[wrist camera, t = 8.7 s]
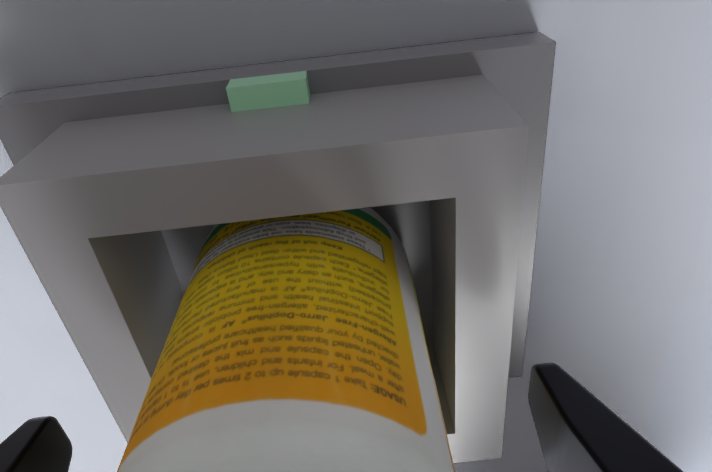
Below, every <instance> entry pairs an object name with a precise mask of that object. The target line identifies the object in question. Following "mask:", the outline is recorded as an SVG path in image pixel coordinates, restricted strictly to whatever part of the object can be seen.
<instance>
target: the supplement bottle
mask: <svg viewBox="0 0 712 472" xmlns="http://www.w3.org/2000/svg"><path fill="white" fill-rule="evenodd" d="M117 472H455V469H454V464H453V459H452V455H451V451H450V447H449V442H448V437H447V432H446V428H445V423H444V419H443V415H442V410H441V406H440V402H439V397H438V393H437V388H436V383H435V379H434V375H433V371H432V367H431V363H430V358H429V353H428V349H427V345H426V340H425V335H424V330H423V325H422V320H421V315H420V310H419V306H418V301H417V296H416V291H415V287H414V282H413V277H412V273H411V269H410V266H409V262H408V258H407V255H406V252H405V250H404V247H403V245H402V243H401V241H400V240H399V238H398V236H397V235H396V233H395V232H394V230H393V229H392V228H391V226H390V225H389V224H388V223H387V222H386V221H385V220H384V219H383V218H382V217H381V216H380V215H379V214H378V213H376V212H375V211H374V210H373V209H371V208H369V207H366V208H357V209H348V210H339V211H330V212H321V213H312V214H303V215H294V216H285V217H276V218H267V219H259V220H250V221H241V222H232V223H223V224H215V226H214V227H213V229H212V230H211V232H210V233H209V235H208V236H207V238H206V240H205V242H204V244H203V247H202V249H201V252H200V254H199V256H198V258H197V261H196V264H195V266H194V269H193V271H192V274H191V277H190V279H189V282H188V285H187V288H186V290H185V293H184V295H183V298H182V301H181V303H180V306H179V309H178V311H177V314H176V316H175V319H174V322H173V324H172V327H171V330H170V333H169V335H168V338H167V340H166V343H165V346H164V348H163V351H162V353H161V356H160V358H159V361H158V363H157V366H156V368H155V371H154V374H153V376H152V379H151V382H150V384H149V387H148V390H147V393H146V395H145V398H144V401H143V403H142V406H141V409H140V411H139V414H138V417H137V419H136V422H135V425H134V428H133V431H132V433H131V436H130V439H129V442H128V444H127V447H126V450H125V452H124V455H123V458H122V460H121V463H120V465H119V468H118V471H117Z"/></svg>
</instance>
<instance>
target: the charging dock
mask: <svg viewBox="0 0 712 472" xmlns="http://www.w3.org/2000/svg"><path fill="white" fill-rule="evenodd" d="M555 46H556V42H555V41H553V40H552V39H550V38H549V37H547V36H545V35H544V34H542V33H541V32H533V33H525V34H516V35H507V36H499V37H490V38H481V39H473V40H464V41H455V42H447V43H438V44H429V45H421V46H412V47H403V48H395V49H386V50H377V51H369V52H360V53H351V54H343V55H334V56H325V57H317V58H308V59H299V60H291V61H282V62H274V63H265V64H256V65H248V66H239V67H230V68H222V69H213V70H204V71H196V72H187V73H178V74H170V75H161V76H152V77H144V78H135V79H126V80H118V81H109V82H100V83H92V84H83V85H74V86H66V87H57V88H48V89H40V90H31V91H22V92H14V93H8V94H7V95H5V96H3V97H2V98H0V139H1V141H2V143H3V145H4V147H5V149H6V151H7V153H8V155H9V157H10V159H11V161H12V163H13V165H14V166H13V167H12V168H11V169H10V170H9V171H7V172H6V173H5V174H4V175H3V176H2V177H0V206H1V208H2V210H3V212H4V214H5V216H6V217H7V219H8V221H9V223H10V225H11V227H12V229H13V231H14V232H15V234H16V236H17V238H18V240H19V242H20V244H21V245H22V247H23V249H24V251H25V253H26V255H27V257H28V258H29V260H30V262H31V264H32V266H33V268H34V270H35V272H36V273H37V275H38V277H39V279H40V281H41V283H42V285H43V286H44V288H45V290H46V292H47V294H48V296H49V298H50V299H51V301H52V303H53V305H54V307H55V309H56V311H57V312H58V314H59V316H60V318H61V320H62V322H63V324H64V326H65V327H66V329H67V331H68V333H69V335H70V337H71V339H72V340H73V342H74V344H75V346H76V348H77V350H78V352H79V353H80V355H81V357H82V359H83V361H84V363H85V365H86V367H87V368H88V370H89V372H90V374H91V376H92V378H93V380H94V381H95V383H96V385H97V387H98V389H99V391H100V393H101V394H102V396H103V398H104V400H105V402H106V404H107V406H108V408H109V409H110V411H111V413H112V415H113V417H114V419H115V421H116V422H117V424H118V426H119V428H120V430H121V432H122V434H123V435H124V437H125V439H126V441H127V443H128V442H129V439H130V436H131V433H132V431H133V428H134V425H135V422H136V419H137V417H138V414H139V411H140V409H141V406H142V403H143V401H144V398H145V395H146V393H147V390H148V387H149V384H150V382H151V379H152V376H153V374H154V371H155V368H156V366H157V363H158V361H159V358H160V356H161V353H162V351H163V348H164V346H165V343H166V340H167V338H168V335H169V333H170V330H171V327H172V324H173V322H174V319H175V316H176V314H177V311H178V309H179V306H180V303H181V301H182V298H183V295H184V293H185V290H186V288H187V285H188V282H189V279H190V277H191V274H192V271H193V269H194V266H195V264H196V261H197V258H198V256H199V254H200V252H201V249H202V247H203V244H204V242H205V240H206V238H207V236H208V235H209V233H210V232H211V230H212V229H213V227H214V226H215V224H223V223H232V222H241V221H250V220H259V219H267V218H276V217H285V216H294V215H303V214H312V213H321V212H330V211H339V210H348V209H357V208H366V207H369V208H371V209H373V210H374V211H375V212H376V213H378V214H379V215H380V216H381V217H382V218H383V219H384V220H385V221H386V222H387V223H388V224H389V225H390V226H391V228H392V229H393V230H394V232H395V233H396V235H397V236H398V238H399V240H400V241H401V243H402V245H403V247H404V250H405V252H406V255H407V258H408V262H409V266H410V269H411V273H412V277H413V282H414V287H415V291H416V296H417V301H418V306H419V310H420V315H421V320H422V325H423V330H424V335H425V340H426V345H427V349H428V353H429V358H430V363H431V367H432V371H433V375H434V379H435V383H436V388H437V393H438V397H439V402H440V406H441V410H442V415H443V419H444V423H445V428H446V432H447V437H448V442H449V447H450V451H451V455H452V459H453V463H460V462H469V461H479V460H489V459H498V458H502V447H503V435H504V422H505V410H506V398H507V386H508V378H511V377H520V376H522V370H523V360H524V351H525V341H526V331H527V321H528V311H529V302H530V292H531V282H532V272H533V262H534V252H535V243H536V233H537V223H538V213H539V203H540V194H541V184H542V174H543V164H544V154H545V144H546V135H547V125H548V115H549V105H550V95H551V86H552V76H553V66H554V56H555Z"/></svg>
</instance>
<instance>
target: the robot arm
mask: <svg viewBox="0 0 712 472" xmlns="http://www.w3.org/2000/svg"><path fill="white" fill-rule="evenodd" d="M528 399H529V405H530V409H531V413H532V416H533V420H534V423H535V427H536V430H537V434H538V437H539V441H540V444H541V448H542V451H543V455H544V458H545V462H546V465H547V469H548V472H683V471H682V470H681V469H680V468H678V467H677V466H676V465H675V464H674V463H673V462H671V461H670V460H669V459H668V458H667V457H665V456H664V455H663V454H662V453H661V452H660V451H658V450H657V449H656V448H655V447H654V446H653V445H651V444H650V443H649V442H648V441H647V440H645V439H644V438H643V437H642V436H641V435H640V434H638V433H637V432H636V431H635V430H634V429H633V428H631V427H630V426H629V425H628V424H627V423H625V422H624V421H623V420H622V419H621V418H620V417H618V416H617V415H616V414H615V413H614V412H612V411H611V410H610V409H609V408H608V407H607V406H605V405H604V404H603V403H602V402H601V401H600V400H598V399H597V398H596V397H595V396H594V395H592V394H591V393H590V392H589V391H588V390H587V389H585V388H584V387H583V386H582V385H581V384H579V383H578V382H577V381H576V380H575V379H574V378H572V377H571V376H570V375H569V374H568V373H567V372H565V371H564V370H563V369H562V368H561V367H559V366H558V365H557V364H554V363H545V364H536V365H534V366H533V367H532V369H531V375H530V384H529V392H528ZM71 457H72V445H71V442H70V440H69V438H68V437H67V435H66V433H65V432H64V430H63V429H62V427H61V425H60V424H59V422H58V421H57V419H56V418H54V417H52V416H47V417H38V418H32V419H29V420H28V421H26V422H25V423H24V424H23V425H21V426H20V427H19V428H18V429H17V430H16V431H15V432H13V433H12V434H11V435H10V436H9V437H8V438H7V439H5V440H4V441H3V442H2V443H1V444H0V472H68V470H69V466H70V461H71Z"/></svg>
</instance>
